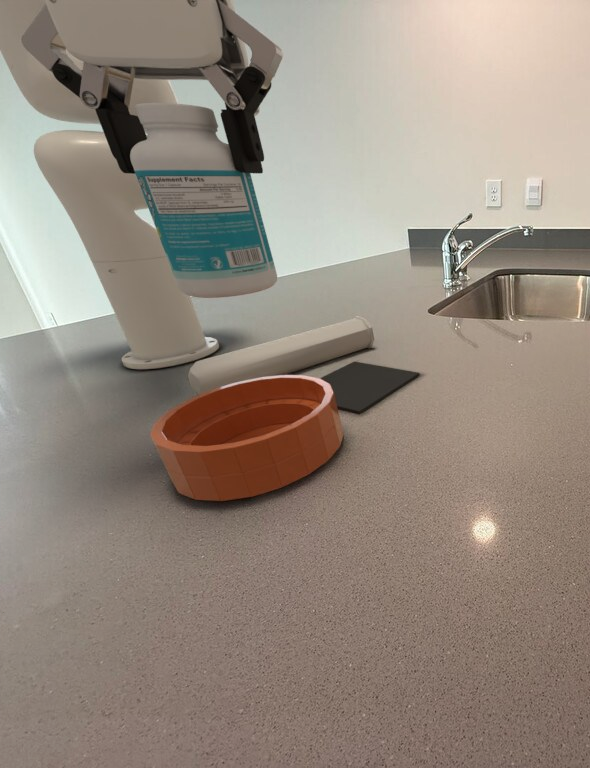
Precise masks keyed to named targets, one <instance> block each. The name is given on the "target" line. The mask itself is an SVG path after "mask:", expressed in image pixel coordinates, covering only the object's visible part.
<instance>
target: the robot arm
mask: <svg viewBox="0 0 590 768" xmlns="http://www.w3.org/2000/svg"><path fill="white" fill-rule="evenodd" d="M246 45H247V46H248V47H249V49H250V50H251V56H250V57H251V58H250V63H249V58H248V53H247V49H246ZM0 53H1V55H2V57H3V59H4V61H5V63H6V65H7V67H8V69H9V72H10V74H11V76H12V78H13V80H14V82H15V83H16V85H17V87H18V89H19V91H20V92H21V95H23V98H24V99H25V100H26V101H27V103H28V104H29V105H30V106H31V108H33V109H34V110H35V111H37V112H38V113H39V114H41V115H43V116H45V117H47V118H49V119H54V120H56V121H62V122H66V123H73V124H74V123H75V124H82V125H83V124H84V125H85V124H86V125H95V126H101V129H102V131H96V130H83V129H82V130H81V129H64V130H54V131H49V132H46V133H44V134H42V135H40V136H39V137H38V138H37V139H36V140H35V142H34V145H33V155H34V159H35V161H36V164H37V166H38V168H39V170H40V172H41V174H42V175H43V177H44V179H45V180H46V182H47V183H48V186H50V188H51V189H52V191H53V193H54V194H55V195H56V197H57V199H58V201H59V202H60V204H61V205H62V206H63V209H64V210H65V212H66V213H67V215H68V217H69V218H70V220H71V222H72V224H73V226H74V228H75V230H76V232H77V233H78V236H79V238H80V240H81V242H82V244H83V247H84V248H85V251H86V253H87V255H88V257H89V259H90V261H91V264H92V266H93V268H94V270H95V272H96V275H97V277H98V279H99V282H100V283H101V286H102V288H103V290H104V293H105V295H106V297H107V299H108V301H109V304H110V306H111V308H112V310H113V312H114V315H115V317H116V319H117V321H118V324H119V326H120V328H121V331H122V332H123V334H124V337H125V339H126V342H127V344H128V347H129V348H130V351H128V352H127V353H124V355H123V356H122V357H121V362H122V365H123V366H124V367H125V368H127V369H130V370H131V369H132V370H153V369H154V370H155V369H163V368H168V367H174V366H175V367H176V366H180V365H183V364H187V363H192V362H195V361H199V360H202V359H204V358H205V357H208V356H210V355H213V354H214V353H215V352H216V351H218V350H219V348H220V343H219V341H218V339H216V338H214V337H210V336H205V334H204V331H203V328H202V325H201V322H200V320H199V318H198V315H197V312H196V309H195V306H194V303H193V300H192V298H191V296H189V295H186V294H184V293H183V292H182V291H181V290H180V289H179V287H178V285H177V282H176V280H175V277H174V275H173V272H172V270H171V267H170V264H169V261H168V259H167V256H166V253H165V251H164V248H163V246H162V243H161V240H160V237H159V235H158V232H157V229H156V227H155V225H153V224H152V223H150V222H148V221H147V220H146V219H144V218H143V217H141V216H140V214H138V213H137V211H141V210H149V208H148V205H147V203H146V200H145V198H144V195H143V192H142V190H141V187H140V184H139V182H138V179H137V176H136V174H135V171H134V168H133V165H132V163H131V160H130V153H131V150H132V148H133V147H134V146H135V145H136V144H137V143H139V142H141V141H144V140H147V139H148V137H149V133H148V130H147V129H144V127H143V125H142V124H141V123H140V120H139V117H138V114H137V111H136V107H135V105H136V104H141V103H172V104H180V103H179V100H178V97H177V95H176V93H175V91H174V88H173V86H172V84H171V81H208V83H209V84H210V85H211V87H212V88H213V89H214V91H216V94H218V95H219V97H220V98H221V99H222V101H223V102H224V106H225V109H220V110H221V113H220V119H221V121H222V125H223V129H224V133H225V137H226V141H227V144H229V148H230V152H231V155H232V159H233V163H234V166H235V169H236V170H237V171H239V172H241V173H250V174H263V173H264V170H263V165H262V162H264V161H265V154H264V149H263V145H262V141H261V137H260V133H259V129H258V125H257V121H256V116H258V114H259V113H260V106H261V104H262V103H263V101H264V99H265V98H266V96H267V95H268V93H269V92H270V90H271V88H272V81H273V79H274V78H275V76H276V74H277V71H278V69H279V67H280V65H281V62H282V60H283V57H284V53H283V50H282V48H280V46H279V45H278V44H276V43H275V42H274V41H272V40H271V39H270V38H269V37H267V36H266V35H265V34H264V33H263V32H261V31H260V30H258V29H257V28H256V27H255V26H254V25H252V24H251V23H250V22H248V21H247V20H246V19H245V18H243V16H241V15H240V14H238V13H237V12H236V9H235V5H234V3H233V0H0Z"/></svg>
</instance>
